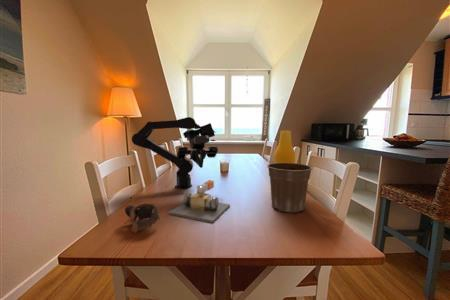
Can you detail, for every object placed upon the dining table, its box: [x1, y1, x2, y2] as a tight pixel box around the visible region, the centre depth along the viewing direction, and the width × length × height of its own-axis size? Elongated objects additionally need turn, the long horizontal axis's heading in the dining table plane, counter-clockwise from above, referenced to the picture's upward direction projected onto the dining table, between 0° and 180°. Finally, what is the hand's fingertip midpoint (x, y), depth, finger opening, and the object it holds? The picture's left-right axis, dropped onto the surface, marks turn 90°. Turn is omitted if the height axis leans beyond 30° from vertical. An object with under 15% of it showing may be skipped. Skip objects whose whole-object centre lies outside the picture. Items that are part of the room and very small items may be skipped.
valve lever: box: [196, 179, 215, 194], centre depth 80 cm, size 10×3×3 cm, turn 158°
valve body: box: [182, 192, 220, 212], centre depth 77 cm, size 12×5×6 cm, turn 68°
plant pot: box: [267, 162, 313, 214], centre depth 80 cm, size 16×16×16 cm
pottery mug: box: [124, 202, 161, 234], centre depth 64 cm, size 12×10×8 cm
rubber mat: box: [168, 202, 231, 224], centre depth 77 cm, size 17×15×1 cm
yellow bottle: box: [273, 130, 296, 163], centre depth 96 cm, size 9×9×29 cm
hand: (201, 167), depth 94 cm, fingers closed
